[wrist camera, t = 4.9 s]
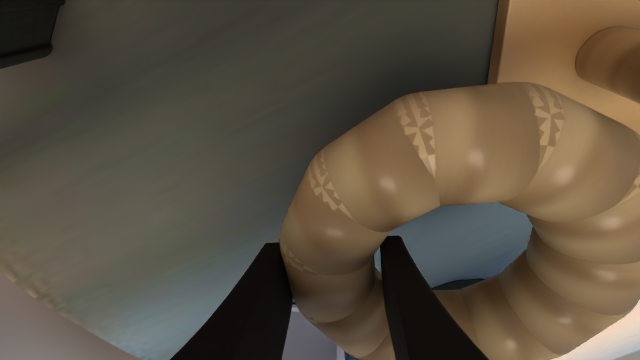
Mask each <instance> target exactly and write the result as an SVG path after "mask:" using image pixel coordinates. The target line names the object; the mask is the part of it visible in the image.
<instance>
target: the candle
mask: <svg viewBox="0 0 640 360" xmlns="http://www.w3.org/2000/svg"><path fill="white" fill-rule="evenodd" d="M60 5H64V0H0V69H2V68H6V67H9V66H13V65H17V64H21V63H24V62H28V61H32V60H36V59H40V58H43V57H46V56H47V55H48V54H49V53H50V51H51V49H52V47H51V46H50V44H49V41H50V37H51V33H52V30H53V26H54V22H55V18H56V15H57V11H58V7H59V6H60Z"/></svg>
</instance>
